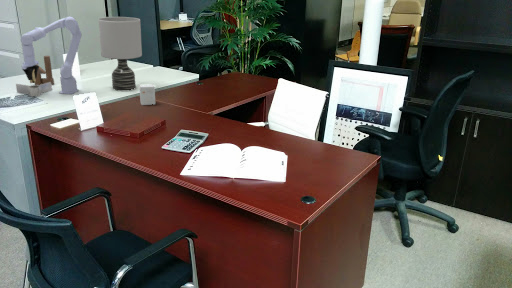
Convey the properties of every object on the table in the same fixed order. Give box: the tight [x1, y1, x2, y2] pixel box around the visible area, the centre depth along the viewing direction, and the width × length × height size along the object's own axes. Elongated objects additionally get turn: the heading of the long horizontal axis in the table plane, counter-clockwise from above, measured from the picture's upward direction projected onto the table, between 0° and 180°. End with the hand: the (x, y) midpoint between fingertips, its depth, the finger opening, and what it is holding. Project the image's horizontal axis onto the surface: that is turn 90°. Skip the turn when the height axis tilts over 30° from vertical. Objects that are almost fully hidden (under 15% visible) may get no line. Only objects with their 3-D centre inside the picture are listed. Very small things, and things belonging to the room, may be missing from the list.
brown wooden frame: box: [34, 55, 55, 86], centre depth 277 cm, size 4×11×18 cm, turn 100°
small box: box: [139, 83, 156, 106], centre depth 251 cm, size 8×6×10 cm
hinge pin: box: [29, 69, 36, 84], centre depth 256 cm, size 4×4×8 cm
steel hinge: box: [15, 82, 53, 97], centre depth 262 cm, size 16×16×5 cm
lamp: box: [97, 16, 143, 91], centre depth 273 cm, size 24×24×42 cm
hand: (32, 79), depth 257 cm, fingers closed on hinge pin, 4 cm apart
